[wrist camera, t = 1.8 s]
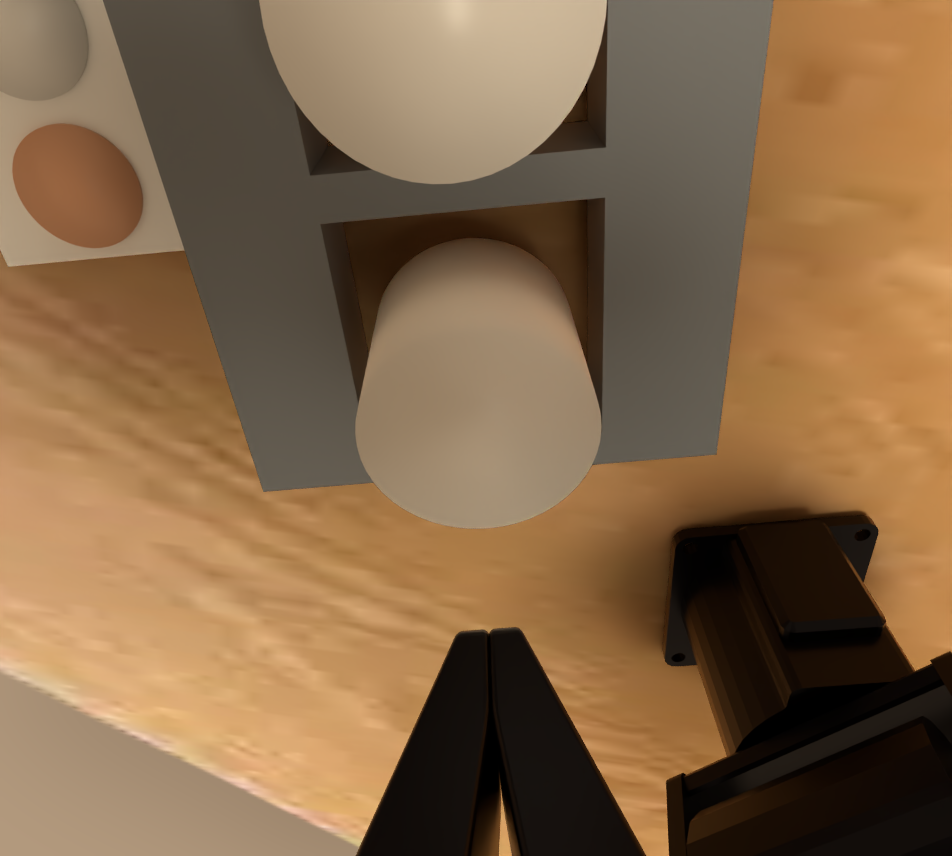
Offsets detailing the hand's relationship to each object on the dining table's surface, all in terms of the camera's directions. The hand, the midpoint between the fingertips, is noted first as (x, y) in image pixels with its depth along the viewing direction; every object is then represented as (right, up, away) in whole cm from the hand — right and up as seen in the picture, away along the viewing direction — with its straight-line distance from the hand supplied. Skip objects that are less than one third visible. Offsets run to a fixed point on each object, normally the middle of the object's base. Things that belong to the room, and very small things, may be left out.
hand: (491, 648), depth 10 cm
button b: (-1, +11, +4) cm, 12 cm away
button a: (0, +5, +8) cm, 9 cm away
